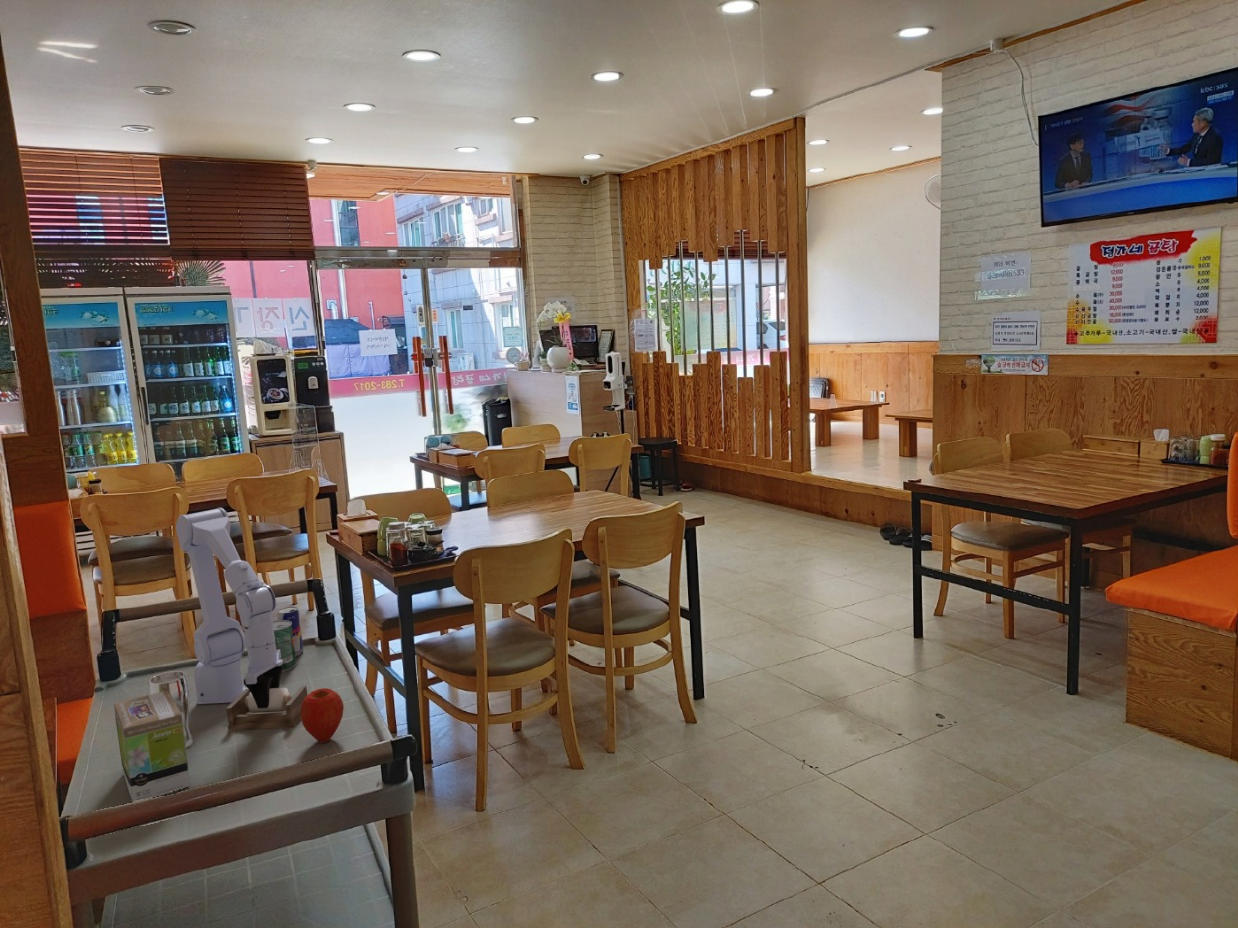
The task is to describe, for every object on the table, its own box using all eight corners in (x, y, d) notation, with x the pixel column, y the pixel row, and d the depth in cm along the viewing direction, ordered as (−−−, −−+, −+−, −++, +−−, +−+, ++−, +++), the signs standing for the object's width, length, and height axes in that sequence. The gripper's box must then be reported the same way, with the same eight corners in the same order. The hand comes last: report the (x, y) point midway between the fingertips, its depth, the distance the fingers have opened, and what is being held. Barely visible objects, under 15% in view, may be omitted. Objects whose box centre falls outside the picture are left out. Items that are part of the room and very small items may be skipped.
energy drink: (299, 656, 228) (293, 612, 226) (278, 657, 228) (273, 613, 226) (306, 649, 233) (301, 605, 231) (286, 650, 233) (281, 606, 231)
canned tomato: (256, 672, 219) (251, 630, 217) (275, 660, 226) (270, 619, 224) (284, 673, 217) (279, 631, 215) (302, 661, 224) (298, 620, 223)
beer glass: (203, 739, 183) (193, 671, 181) (176, 755, 177) (166, 685, 174) (177, 736, 186) (167, 668, 183) (150, 751, 179) (139, 682, 177)
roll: (244, 717, 190) (240, 696, 188) (253, 705, 194) (250, 685, 193) (287, 715, 190) (284, 694, 188) (295, 703, 194) (292, 683, 193)
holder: (228, 730, 187) (225, 708, 186) (247, 709, 197) (244, 688, 196) (293, 726, 187) (291, 704, 186) (309, 706, 197) (307, 685, 196)
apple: (350, 743, 178) (345, 692, 177) (307, 754, 174) (301, 703, 173) (342, 727, 186) (337, 678, 184) (300, 737, 182) (294, 688, 180)
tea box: (192, 787, 164) (182, 712, 162) (132, 806, 158) (120, 729, 156) (178, 757, 176) (169, 687, 174) (122, 773, 171) (111, 702, 168)
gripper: (266, 654, 182) (273, 715, 184) (291, 630, 196) (298, 687, 199) (232, 656, 182) (240, 717, 184) (259, 631, 196) (266, 689, 199)
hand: (268, 702), depth 191 cm, fingers closed on roll, 5 cm apart
